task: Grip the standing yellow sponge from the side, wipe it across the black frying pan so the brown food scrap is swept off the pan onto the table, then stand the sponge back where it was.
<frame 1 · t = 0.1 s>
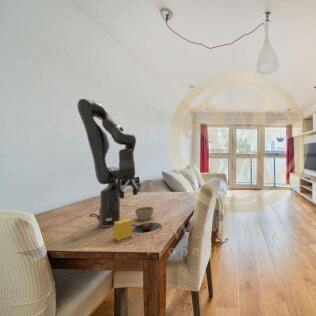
hand: (128, 196, 101), 17 cm above the table, tool pointing down, fingers open, 8 cm apart
crumb: (146, 228, 97), point 1 cm above the table, touching pan
pan: (147, 229, 98), on the table
flower pot: (144, 220, 112), on the table
sponge: (123, 239, 86), on the table
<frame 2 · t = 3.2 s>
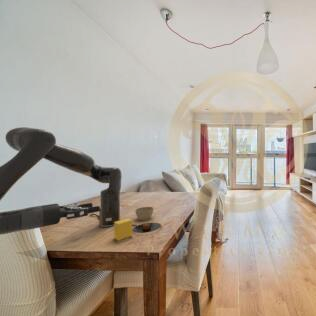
hand: (95, 206, 77), 18 cm above the table, tool horizontal, fingers open, 8 cm apart
nothing on the table moved.
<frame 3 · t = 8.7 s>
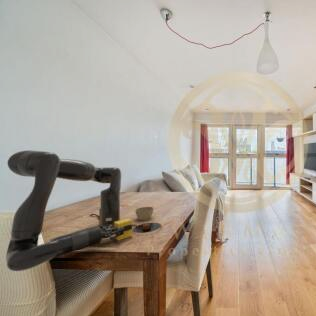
hand: (129, 225, 88), 6 cm above the table, tool horizontal, fingers closed on sponge, 4 cm apart
sponge: (123, 239, 86), on the table, touching gripper
everything else where it was.
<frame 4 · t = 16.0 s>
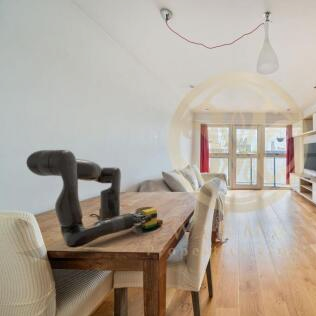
hand: (154, 214, 101), 8 cm above the table, tool horizontal, fingers closed on sponge, 4 cm apart
crumb: (158, 224, 102), point 1 cm above the table, touching sponge
sponge: (149, 226, 99), point 2 cm above the table, touching crumb, gripper
everything else where it was.
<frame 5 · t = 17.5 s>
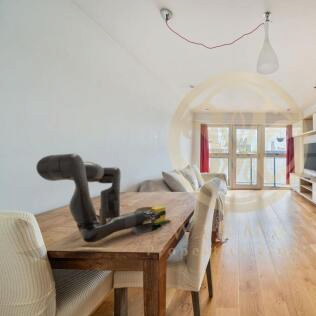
hand: (162, 211, 105), 8 cm above the table, tool horizontal, fingers closed on sponge, 4 cm apart
crumb: (166, 224, 106), on the table, touching sponge
sponge: (158, 223, 103), point 2 cm above the table, touching crumb, gripper
everything else where it was.
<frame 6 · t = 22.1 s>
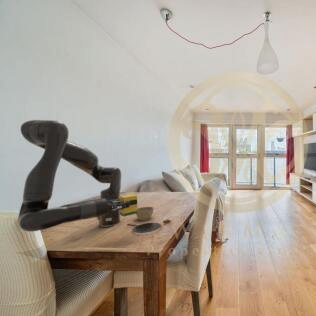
hand: (134, 200, 90), 18 cm above the table, tool horizontal, fingers closed on sponge, 4 cm apart
crumb: (166, 224, 106), on the table
sponge: (128, 214, 88), point 12 cm above the table, touching gripper
everything else where it was.
when the fingers open (6 cm above the table, at t = 25.9 s): sponge stays where it is, on the table.
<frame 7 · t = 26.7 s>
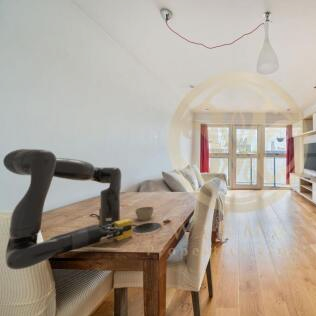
hand: (127, 224, 87), 7 cm above the table, tool horizontal, fingers open, 8 cm apart
sponge: (123, 239, 86), on the table
everything else where it was.
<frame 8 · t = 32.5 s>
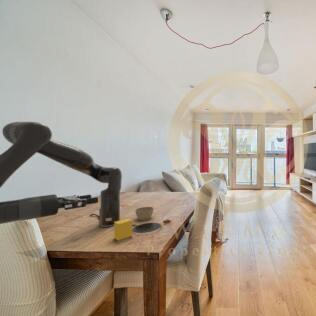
hand: (94, 198, 77), 22 cm above the table, tool horizontal, fingers open, 8 cm apart
nothing on the table moved.
at the end: crumb on the table; the gripper is holding nothing; sponge tilted 0° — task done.
